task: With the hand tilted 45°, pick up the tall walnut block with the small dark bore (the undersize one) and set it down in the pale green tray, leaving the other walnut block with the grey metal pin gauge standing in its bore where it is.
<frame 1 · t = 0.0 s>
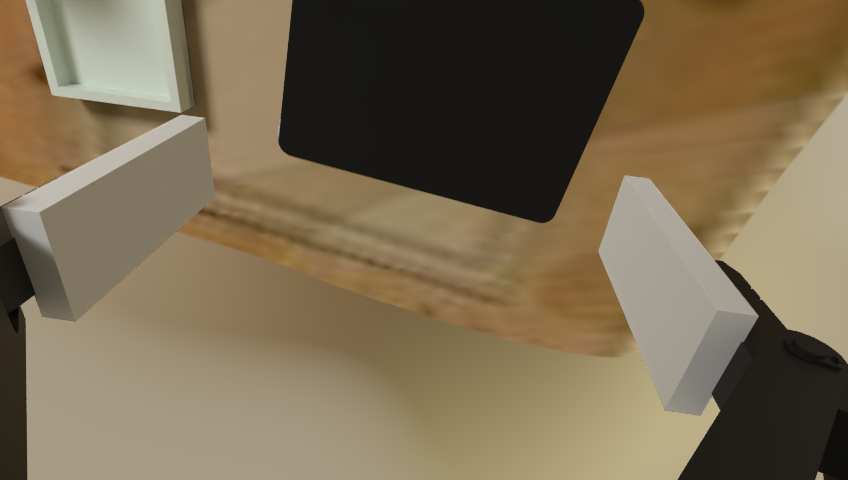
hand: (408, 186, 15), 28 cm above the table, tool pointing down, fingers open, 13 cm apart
tray: (120, 29, 41), on the table
tablet: (443, 82, 41), on the table
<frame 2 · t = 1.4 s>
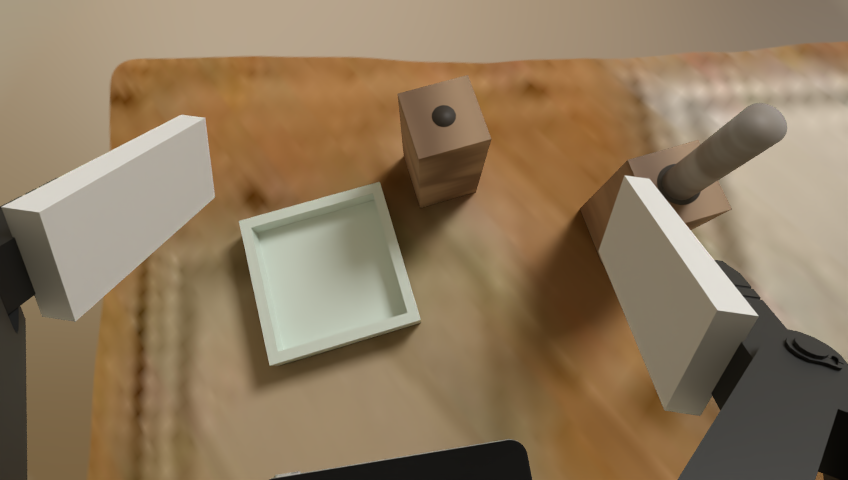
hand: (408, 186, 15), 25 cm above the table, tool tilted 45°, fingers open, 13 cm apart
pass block: (618, 227, 41), on the table
tray: (333, 274, 40), on the table
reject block: (439, 173, 42), on the table
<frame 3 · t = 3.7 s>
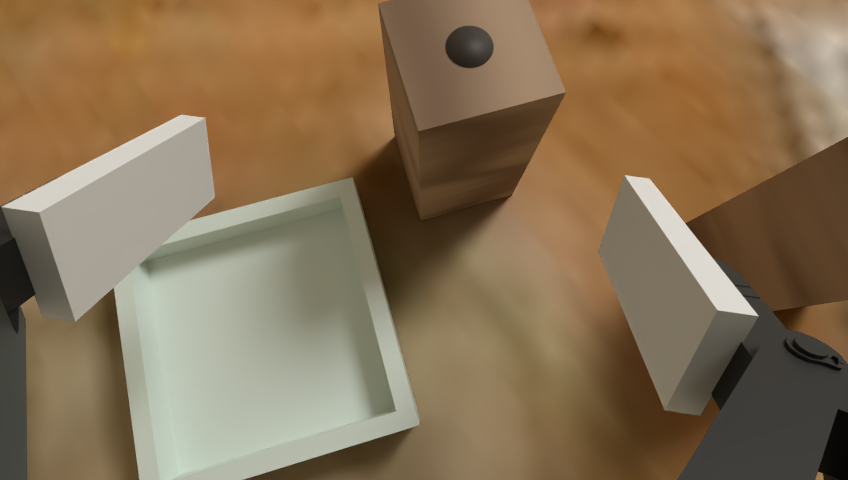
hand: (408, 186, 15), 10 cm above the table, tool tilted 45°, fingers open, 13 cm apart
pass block: (748, 257, 25), on the table
tray: (273, 333, 24), on the table
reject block: (452, 165, 26), on the table
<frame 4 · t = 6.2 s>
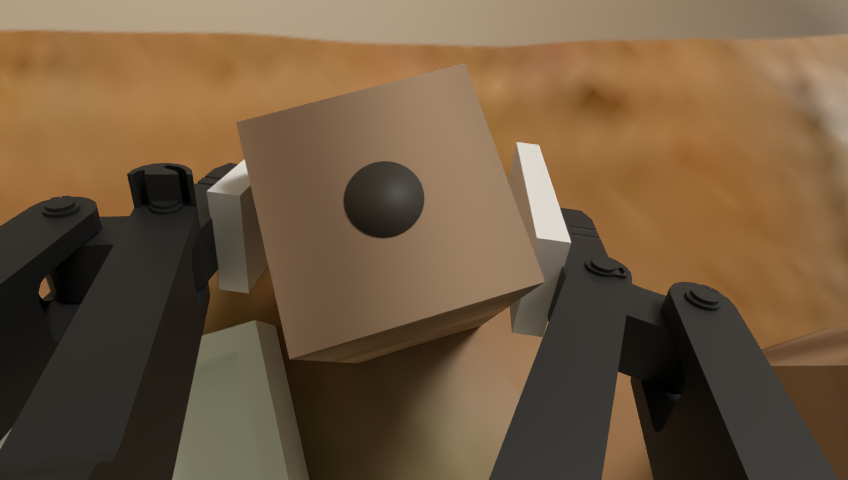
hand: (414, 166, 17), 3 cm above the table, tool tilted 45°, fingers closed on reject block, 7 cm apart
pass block: (800, 412, 18), on the table
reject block: (402, 283, 19), on the table, touching gripper
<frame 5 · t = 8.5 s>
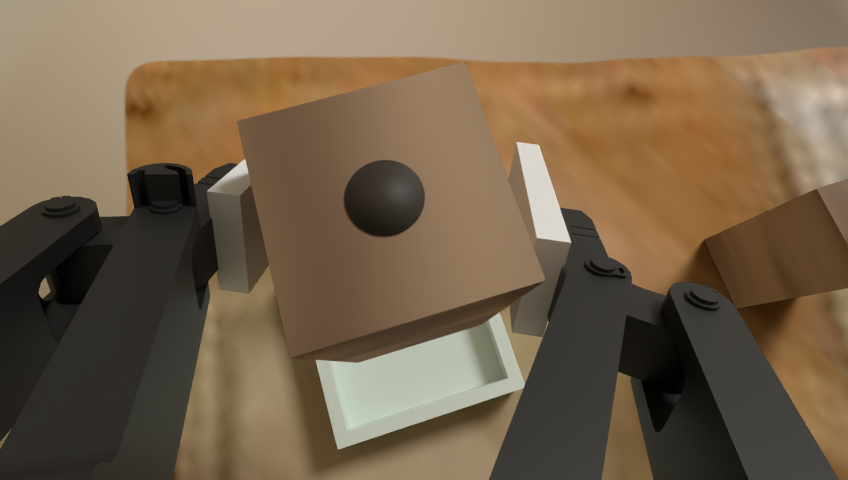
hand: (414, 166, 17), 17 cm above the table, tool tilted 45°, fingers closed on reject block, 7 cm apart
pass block: (752, 262, 33), on the table
tray: (406, 326, 32), on the table
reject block: (402, 282, 19), point 13 cm above the table, touching gripper
when the fingers open (5 cm above the table, at t = 11.0 s): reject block drops 1 cm, resting on tray.
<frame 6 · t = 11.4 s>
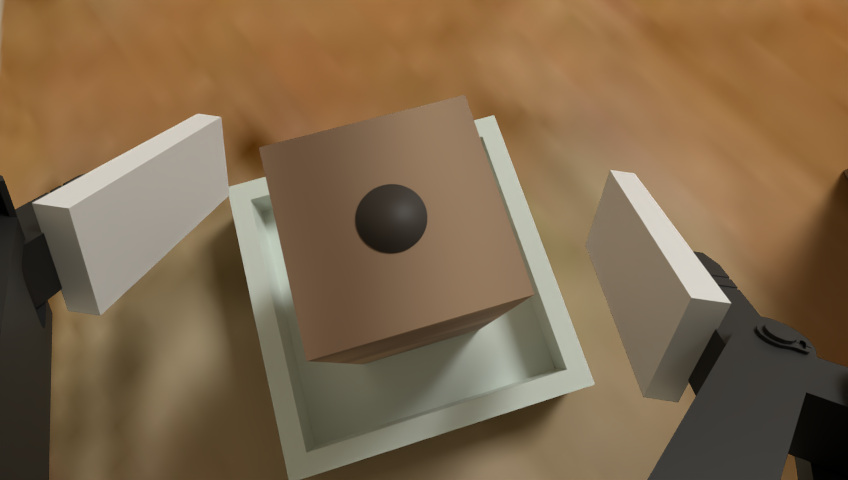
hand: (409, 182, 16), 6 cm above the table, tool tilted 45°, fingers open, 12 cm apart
tray: (403, 290, 21), on the table
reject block: (405, 288, 20), point 1 cm above the table, touching tray
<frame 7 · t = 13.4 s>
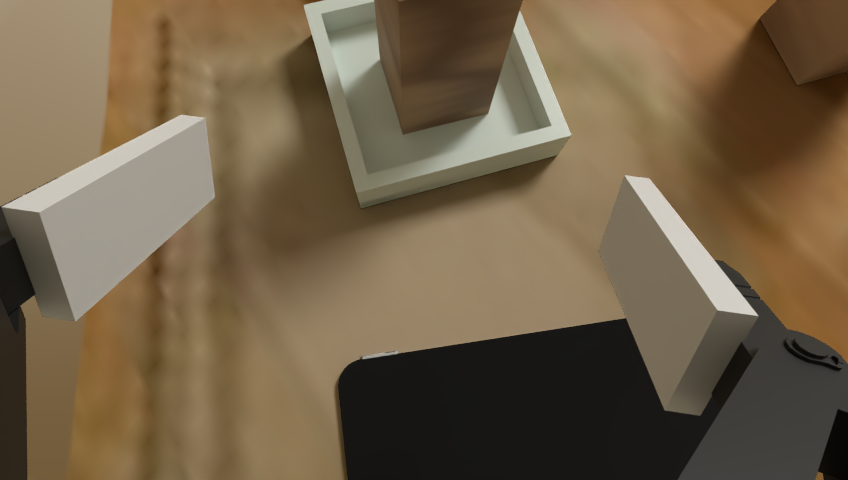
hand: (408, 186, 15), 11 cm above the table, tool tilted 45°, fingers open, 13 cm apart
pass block: (813, 41, 30), on the table
tray: (431, 92, 28), on the table
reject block: (433, 85, 28), point 1 cm above the table, touching tray
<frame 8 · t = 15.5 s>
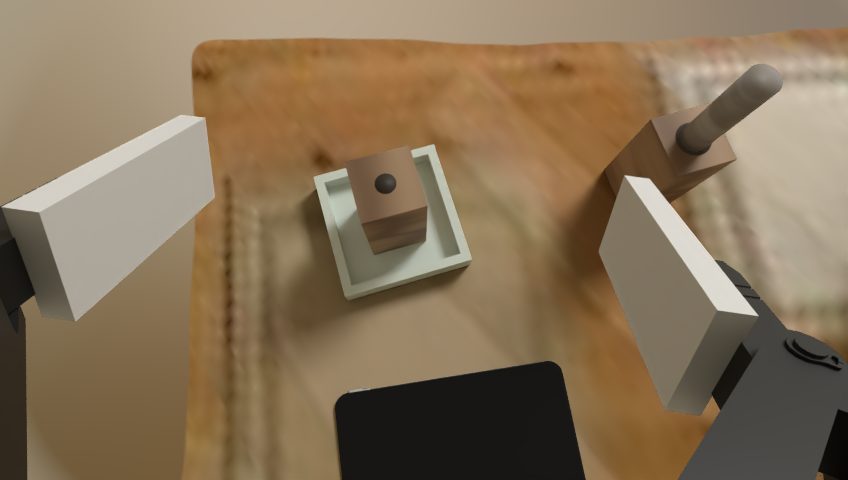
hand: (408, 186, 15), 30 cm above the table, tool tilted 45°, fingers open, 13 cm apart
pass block: (637, 185, 47), on the table
tray: (392, 224, 46), on the table
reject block: (393, 223, 45), point 1 cm above the table, touching tray
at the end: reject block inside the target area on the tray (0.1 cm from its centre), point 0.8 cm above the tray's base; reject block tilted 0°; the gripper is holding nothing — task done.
